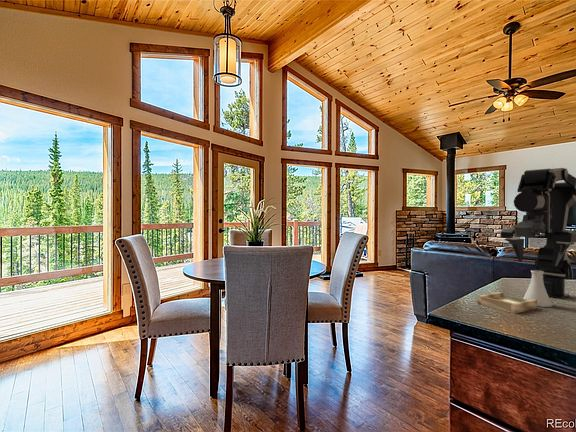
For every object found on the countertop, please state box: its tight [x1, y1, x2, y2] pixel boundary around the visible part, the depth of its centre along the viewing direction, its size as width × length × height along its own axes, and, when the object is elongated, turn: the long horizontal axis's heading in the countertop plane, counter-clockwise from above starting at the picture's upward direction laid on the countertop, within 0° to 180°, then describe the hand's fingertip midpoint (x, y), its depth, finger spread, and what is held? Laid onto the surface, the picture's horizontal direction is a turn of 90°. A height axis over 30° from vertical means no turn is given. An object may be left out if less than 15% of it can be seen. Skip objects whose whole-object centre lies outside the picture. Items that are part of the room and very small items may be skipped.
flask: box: [522, 269, 553, 308], centre depth 99 cm, size 7×7×10 cm
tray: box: [477, 291, 538, 314], centre depth 98 cm, size 11×10×2 cm
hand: (537, 263), depth 99 cm, fingers open, 9 cm apart
